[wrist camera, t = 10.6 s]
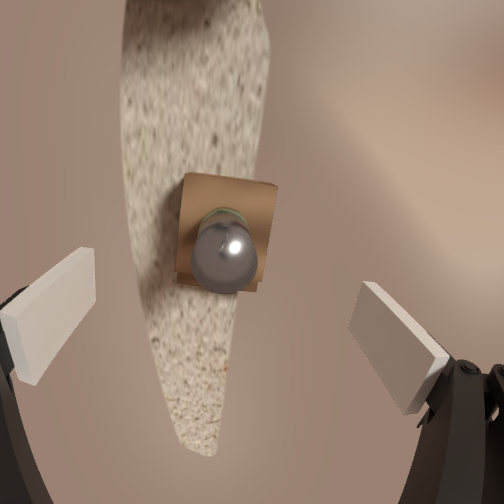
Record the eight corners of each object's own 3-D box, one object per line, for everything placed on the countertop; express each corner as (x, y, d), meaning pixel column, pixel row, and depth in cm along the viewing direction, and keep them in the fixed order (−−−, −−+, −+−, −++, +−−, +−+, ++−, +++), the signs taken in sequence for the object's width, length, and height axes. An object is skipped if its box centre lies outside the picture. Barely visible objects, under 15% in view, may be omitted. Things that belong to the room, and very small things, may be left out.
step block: (190, 172, 36) (184, 173, 31) (271, 182, 37) (278, 186, 32) (179, 275, 39) (173, 291, 35) (254, 284, 41) (258, 300, 36)
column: (203, 203, 32) (192, 224, 22) (251, 209, 33) (264, 233, 22) (197, 249, 33) (186, 290, 23) (244, 255, 34) (253, 298, 24)
